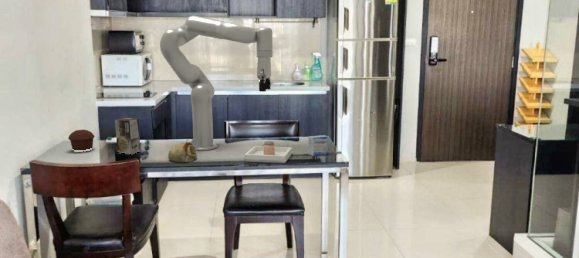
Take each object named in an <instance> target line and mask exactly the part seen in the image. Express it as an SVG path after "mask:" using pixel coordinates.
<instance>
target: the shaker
mask: <svg viewBox="0 0 579 258" xmlns="http://www.w3.org/2000/svg"><path fill="white" fill-rule="evenodd" d="M263 146H264V155H275V147H276V146H275V142H274V141H271V140H270V141H269V140H268V141H264V143H263Z"/></svg>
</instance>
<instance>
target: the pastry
mask: <svg viewBox="0 0 579 258" xmlns="http://www.w3.org/2000/svg"><path fill="white" fill-rule="evenodd" d="M167 156H168V157H167V158H168V160H169V161H171V162H175V163H181V162H189V163H192V162H194V161H195V160H196V159H197V158H198V154H197V150H196V148H195V147H194V146H193V145H192V144H191V143H189V142H186V141H185V142H183V143H180V144H178V145H175V146H174V147H171V148H170V149H169V151H168V155H167ZM191 161H192V162H191Z"/></svg>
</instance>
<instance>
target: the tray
mask: <svg viewBox="0 0 579 258" xmlns="http://www.w3.org/2000/svg"><path fill="white" fill-rule="evenodd" d="M292 155H293V147H288V146H287V147H285V146H282V147H281V146H275V155H264V145H262V146H260V145H254V146H253V147H252V148H250V149H249V150H248V151H247V152H246V153H244V155H243V156H244V157H243V158H244V159H243V161H244V162H253V163H274V164H276V163H277V164H285V163H287V161H288V160H289V158H290V157H291V156H292Z"/></svg>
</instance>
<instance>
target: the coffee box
mask: <svg viewBox="0 0 579 258" xmlns="http://www.w3.org/2000/svg"><path fill="white" fill-rule="evenodd" d="M114 124H115V126H114V127H115V139H116V153H117V152H119V153H118V154H121V153H125V154H124V155H130V154H131V155H135V153H136V154H138V153H137V152H140V153H141V140H140V139H141V138H140V136H141V135H140V120H139V118H135V117H134V118H132V117H121V118H118V119H114Z"/></svg>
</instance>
